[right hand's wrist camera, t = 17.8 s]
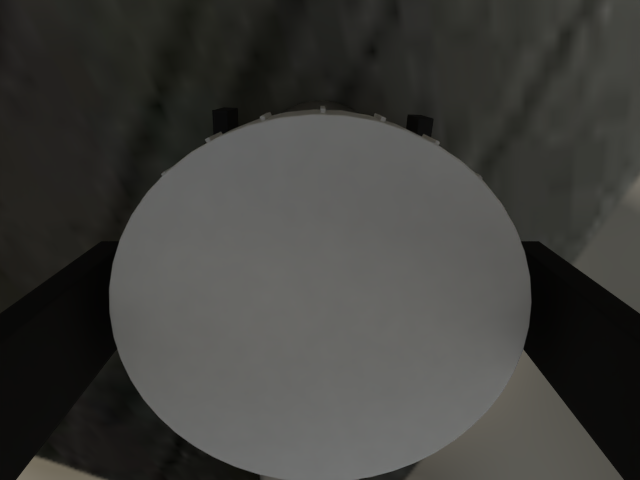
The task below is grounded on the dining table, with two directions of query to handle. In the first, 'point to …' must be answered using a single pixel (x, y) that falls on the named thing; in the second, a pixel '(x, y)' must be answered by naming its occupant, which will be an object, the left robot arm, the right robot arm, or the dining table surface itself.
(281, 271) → the lid
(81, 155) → the dining table surface
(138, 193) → the dining table surface
